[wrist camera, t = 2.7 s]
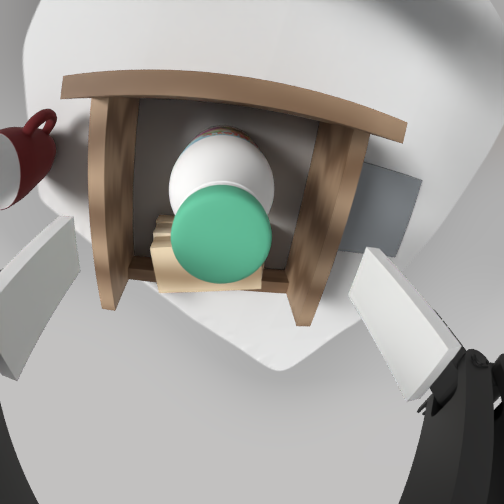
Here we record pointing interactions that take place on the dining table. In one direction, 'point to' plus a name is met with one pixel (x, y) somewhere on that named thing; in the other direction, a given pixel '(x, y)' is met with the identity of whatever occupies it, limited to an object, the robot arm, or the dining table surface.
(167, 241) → the offcut top
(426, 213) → the dining table surface
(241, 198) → the milk bottle
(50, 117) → the mug
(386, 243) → the mat
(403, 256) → the dining table surface
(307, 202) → the rack
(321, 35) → the dining table surface
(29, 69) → the dining table surface
